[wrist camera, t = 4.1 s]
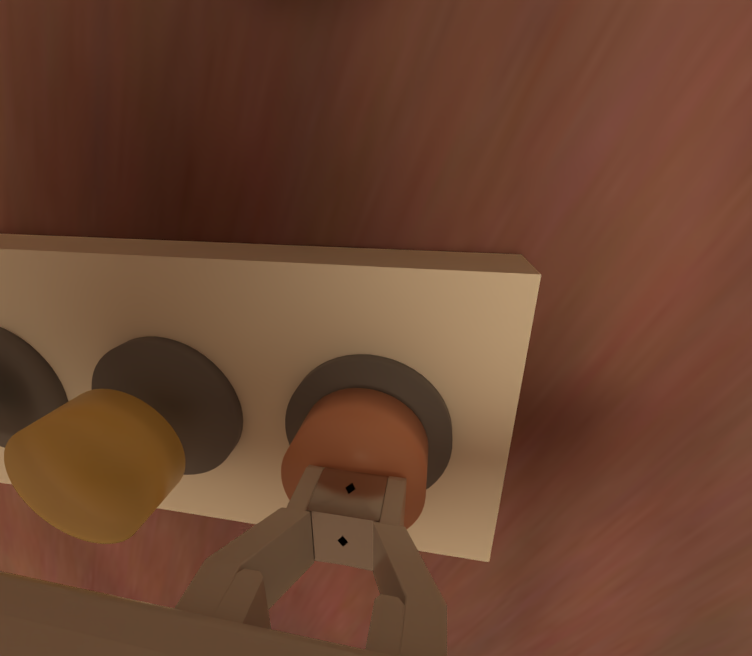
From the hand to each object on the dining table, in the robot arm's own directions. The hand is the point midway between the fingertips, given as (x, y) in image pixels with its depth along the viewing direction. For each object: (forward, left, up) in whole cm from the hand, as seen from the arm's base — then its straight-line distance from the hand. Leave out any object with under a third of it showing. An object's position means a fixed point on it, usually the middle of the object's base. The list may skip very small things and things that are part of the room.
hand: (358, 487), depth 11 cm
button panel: (-8, 0, -6) cm, 10 cm away
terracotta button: (0, 0, -2) cm, 2 cm away
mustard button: (-8, 0, -1) cm, 8 cm away
